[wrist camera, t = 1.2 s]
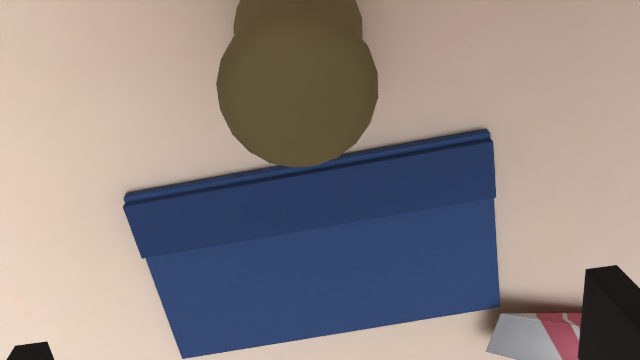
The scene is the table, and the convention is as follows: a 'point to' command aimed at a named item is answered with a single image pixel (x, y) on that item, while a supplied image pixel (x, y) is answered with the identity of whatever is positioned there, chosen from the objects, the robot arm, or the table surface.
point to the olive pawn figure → (297, 80)
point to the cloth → (323, 244)
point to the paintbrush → (537, 336)
